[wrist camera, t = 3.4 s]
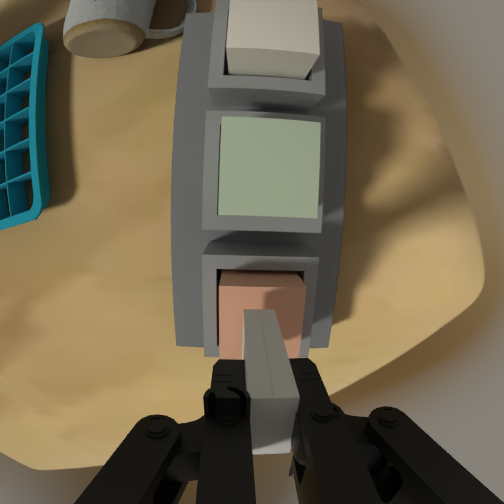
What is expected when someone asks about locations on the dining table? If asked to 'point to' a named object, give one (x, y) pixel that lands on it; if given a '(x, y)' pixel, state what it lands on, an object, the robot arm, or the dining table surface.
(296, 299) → the terracotta key
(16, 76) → the ice cube tray
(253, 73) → the ivory key
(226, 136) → the sage key
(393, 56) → the dining table surface
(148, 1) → the ceramic mug
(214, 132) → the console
